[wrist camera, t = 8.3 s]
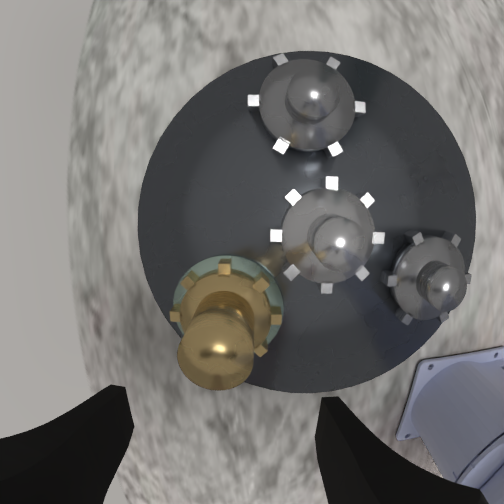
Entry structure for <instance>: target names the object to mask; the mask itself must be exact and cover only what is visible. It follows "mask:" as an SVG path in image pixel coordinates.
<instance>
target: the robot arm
mask: <svg viewBox="0 0 504 504" xmlns="http://www.w3.org/2000/svg"><path fill="white" fill-rule="evenodd" d="M430 364H431V366H430V367H428V366H429V365H430ZM133 429H134V423H133V419H132V415H131V411H130V406H129V402H128V398H127V393H126V389H125V387H122V386H116V385H109V386H108V387H106V388H104V389H103V390H101V391H100V392H98V393H97V394H95V395H94V396H92V397H91V398H89V399H87V400H86V401H84V402H83V403H81V404H80V405H78V406H77V407H75V408H73V409H72V410H70V411H68V412H66V413H65V414H63V415H61V416H59V417H57V418H56V419H54V420H52V421H50V422H48V423H46V424H44V425H41V426H39V427H37V428H34V429H32V430H29V431H26V432H23V433H20V434H16V435H13V436H10V437H6V438H1V439H0V504H103V502H104V498H105V496H106V493H107V491H108V488H109V486H110V484H111V482H112V480H113V478H114V475H115V473H116V471H117V469H118V467H119V465H120V463H121V461H122V459H123V457H124V455H125V452H126V450H127V448H128V446H129V442H130V439H131V436H132V433H133ZM416 437H421V438H422V440H423V442H424V444H425V445H426V447H427V449H428V451H429V453H430V454H431V456H432V458H433V460H434V462H435V463H436V465H437V467H438V469H439V471H440V472H441V474H442V476H443V478H441V477H439V476H437V475H434V474H432V473H430V472H428V471H426V470H424V469H422V468H420V467H418V466H416V465H415V464H413V463H411V462H410V461H408V460H406V459H405V458H403V457H402V456H400V455H399V454H398V453H396V452H395V451H393V450H392V449H391V448H389V447H388V446H387V445H386V444H384V443H383V442H382V441H381V440H380V439H379V438H377V437H376V436H375V435H374V434H373V433H372V432H371V431H370V430H369V429H368V428H367V427H366V426H365V425H364V424H363V423H362V422H361V421H360V420H359V419H358V418H357V417H356V416H355V415H354V413H353V412H352V411H351V410H350V409H349V408H348V407H347V406H346V404H345V403H344V402H343V401H342V400H341V399H340V398H339V397H322V399H321V405H320V411H319V417H318V423H317V428H316V434H315V442H316V452H317V460H318V464H319V468H320V472H321V476H322V480H323V484H324V488H325V492H326V496H327V499H328V503H329V504H504V346H503V347H498V348H493V349H488V350H483V351H478V352H472V353H466V354H461V355H454V356H448V357H441V358H434V359H427V360H423V361H421V362H420V363H419V364H418V367H417V370H416V374H415V378H414V381H413V385H412V388H411V392H410V395H409V398H408V401H407V404H406V408H405V411H404V414H403V417H402V420H401V423H400V425H399V428H398V431H397V434H396V438H397V440H398V441H401V440H407V439H412V438H416Z"/></svg>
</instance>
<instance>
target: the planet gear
mask: <svg viewBox="0 0 504 504" xmlns="http://www.w3.org/2000/svg"><path fill="white" fill-rule="evenodd" d="M180 284H181V285H182V286H183V287H184V288H185V289H186V290H187V292H186V294H185V295H184V297H183V299H182V302H181V304H174V306H173V307H172V309H171V310H170V321H172V322H180V323H181V327H182V329H183V332H184V336H183V338H182V340H181V342H180V344H179V347H178V352H177V359H178V363H179V366H180V368H181V370H182V372H183V373H184V375H185V376H186V377H187V378H188V379H189V380H190V381H192V382H193V383H195V384H196V385H198V386H200V387H203V388H206V389H210V390H227V389H231V388H234V387H236V386H238V385H240V384H241V383H243V382H244V381H245V380H246V379H247V378H248V376H249V375H250V373H251V371H252V367H253V357H254V352H255V353H256V354H257V355H258V356H259V357H261V356H262V355H264V354H265V353H266V352H267V351H268V344H267V341H266V340H265V339H266V337H267V335H268V333H269V330H270V326H271V325H281V322H282V313H281V307H276V306H270V301H269V298H268V295H267V293H266V291H265V289H266V288H268V287H269V286H270V281H269V278H268V277H267V276H266V275H265V274H264V273H263V272H262V271H261V272H260V273H259V274H258V275H257V276H256V277H255V278H253V277H252V276H250V275H249V274H247V273H245V272H242V271H239V270H235V269H232V259H220V261H219V263H218V269H215V270H212V271H209V272H207V273H205V274H203V275H201V276H200V277H198V276H197V275H196V274H195V273H194V272H193V271H192V270H191V271H190V272H189V273H188V274H187V275H186V276H185V277H184V279H183V280H182V281H181V282H180Z"/></svg>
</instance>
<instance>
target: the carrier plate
mask: <svg viewBox="0 0 504 504" xmlns="http://www.w3.org/2000/svg"><path fill="white" fill-rule="evenodd" d="M475 229H476V211H475V199H474V192H473V187H472V183H471V178H470V174H469V171H468V168H467V165H466V162H465V159H464V156H463V154H462V152H461V150H460V148H459V146H458V144H457V142H456V140H455V138H454V136H453V134H452V132H451V131H450V129H449V128H448V126H447V125H446V123H445V122H444V120H443V119H442V117H441V116H440V115H439V114H438V113H437V111H436V110H435V109H434V108H433V107H432V106H431V105H430V103H429V102H428V101H427V100H426V99H425V98H424V97H422V96H421V95H420V94H419V93H418V92H417V91H416V90H415V89H413V88H412V87H411V86H410V85H408V84H407V83H406V82H404V81H403V80H401V79H400V78H398V77H397V76H395V75H393V74H392V73H390V72H388V71H386V70H384V69H382V68H380V67H378V66H376V65H374V64H372V63H369V62H366V61H363V60H360V59H357V58H354V57H351V56H347V55H341V54H336V53H330V52H319V51H297V52H288V53H280V54H275V55H271V56H267V57H263V58H259V59H256V60H253V61H250V62H248V63H245V64H243V65H241V66H238V67H236V68H234V69H232V70H230V71H228V72H226V73H225V74H223V75H221V76H220V77H218V78H217V79H215V80H213V81H212V82H210V83H209V84H208V85H206V86H205V87H204V88H203V89H202V90H200V91H199V92H198V93H197V94H196V95H194V96H193V97H192V98H191V99H190V100H189V101H188V102H187V103H186V104H185V106H184V107H183V108H182V109H181V110H180V111H179V112H178V113H177V114H176V116H175V117H174V118H173V120H172V121H171V123H170V124H169V126H168V127H167V128H166V130H165V131H164V133H163V135H162V136H161V138H160V140H159V142H158V144H157V146H156V148H155V150H154V152H153V154H152V156H151V158H150V161H149V164H148V167H147V170H146V173H145V176H144V180H143V183H142V188H141V194H140V200H139V207H138V239H139V247H140V255H141V259H142V263H143V267H144V271H145V275H146V279H147V281H148V284H149V286H150V289H151V291H152V293H153V296H154V298H155V300H156V302H157V304H158V306H159V307H160V309H161V311H162V313H163V314H164V316H165V318H166V319H167V321H168V322H169V323H170V325H171V326H172V327H173V329H174V330H175V331H176V332H177V334H178V335H179V336H180V337H181V338H183V336H184V332H183V329H182V327H181V323H180V322H172V321H170V310H171V309H172V307H173V306H174V304H181V302H182V299H183V297H184V295H185V294H186V292H187V290H186V289H185V288H184V287H183V286H182V285H181V284H180V282H181V281H182V280H183V279H184V277H185V276H186V275H187V274H188V273H189V272H190V271H191V270H192V271H193V272H194V273H195V274H196V275H197V276H198V277H200V276H201V275H203V274H205V273H207V272H209V271H212V270H215V269H218V263H219V261H220V259H232V269H235V270H239V271H242V272H245V273H247V274H249V275H250V276H252V277H253V278H255V277H256V276H257V275H258V274H259V273H260V272H261V271H262V272H263V273H264V274H265V275H266V276H267V277H268V278H269V281H270V286H269V287H268V288H266V289H265V291H266V293H267V295H268V298H269V301H270V306H276V307H281V313H282V322H281V325H271V326H270V330H269V333H268V335H267V337H266V339H265V340H266V341H267V344H268V351H267V352H266V353H265V354H264V355H262V356H261V357H259V356H258V355H257V354H256V353H255V352H254V357H253V367H252V371H251V373H250V375H249V376H248V378H247V379H246V380H245V381H244V382H247V383H249V384H252V385H255V386H259V387H263V388H266V389H270V390H276V391H283V392H290V393H318V392H327V391H334V390H339V389H343V388H348V387H352V386H355V385H358V384H360V383H363V382H366V381H369V380H371V379H373V378H375V377H377V376H380V375H382V374H384V373H386V372H387V371H389V370H391V369H392V368H394V367H396V366H397V365H399V364H400V363H402V362H403V361H405V360H406V359H407V358H409V357H410V356H411V355H412V354H413V353H415V352H416V351H417V350H418V349H419V348H420V347H422V346H423V345H424V344H425V342H426V341H427V340H428V339H429V338H430V337H431V336H432V335H433V334H434V333H435V332H436V330H437V329H438V328H439V326H440V325H441V324H442V322H444V321H445V320H447V319H448V318H449V316H448V314H449V312H450V311H451V310H453V309H455V308H456V307H457V306H458V305H459V304H460V303H461V302H462V300H463V298H464V296H465V293H466V289H467V284H470V281H471V274H469V273H468V270H469V267H470V263H471V259H472V254H473V248H474V242H475Z"/></svg>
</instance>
